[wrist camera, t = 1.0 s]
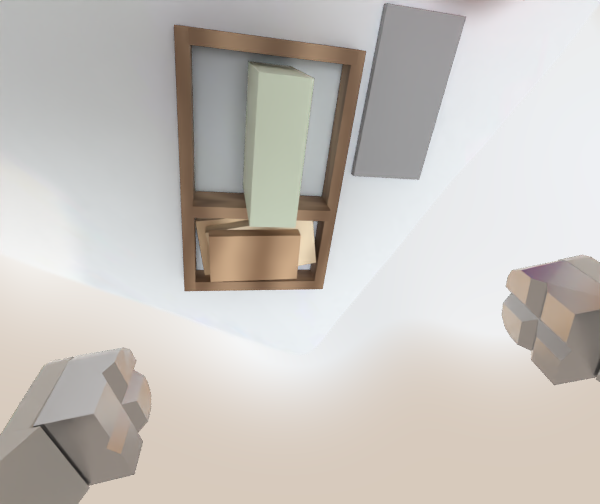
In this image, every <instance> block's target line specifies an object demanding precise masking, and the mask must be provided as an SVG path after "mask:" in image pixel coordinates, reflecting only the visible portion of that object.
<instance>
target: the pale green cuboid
mask: <svg viewBox="0 0 600 504" xmlns="http://www.w3.org/2000/svg"><path fill="white" fill-rule="evenodd" d="M313 86H314V78H312V77H311V76H309V75H307V74H305V73H303V72H301V71H299V70H297V69H295V68H293V67H291V66H284V65H276V64H268V63H259V62H251V61H248V81H247V103H246V124H245V146H244V168H243V190H244V196H245V202H246V208H247V214H248V220H249V226H250V227H283V228H295V227H296V220H297V212H298V204H299V196H300V188H301V180H302V172H303V164H304V157H305V149H306V141H307V133H308V125H309V117H310V109H311V101H312V94H313Z"/></svg>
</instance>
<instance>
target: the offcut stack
mask: <svg viewBox="0 0 600 504" xmlns="http://www.w3.org/2000/svg"><path fill="white" fill-rule="evenodd" d="M195 223H196V228H197V234H198V239H199V245H200V251H201V256H202V262H203V267H204V273H205V275H210V278H211V282H223V281H249V280H276V279H297V270H298V266H300V265H305V264H311V263H316V256H315V243H314V229H313V221H296V227H295V228H283V227H250V226H249V220H248V219H222V218H196V220H195Z"/></svg>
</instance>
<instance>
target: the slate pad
mask: <svg viewBox="0 0 600 504" xmlns="http://www.w3.org/2000/svg"><path fill="white" fill-rule="evenodd" d="M465 19H466V17H465V16H459V15H453V14H447V13H441V12H435V11H430V10H424V9H418V8H412V7H406V6H400V5H394V4H388V3H387V4H384V8H383V13H382V18H381V24H380V29H379V34H378V39H377V44H376V49H375V54H374V60H373V65H372V70H371V75H370V80H369V85H368V91H367V96H366V101H365V106H364V111H363V116H362V121H361V127H360V132H359V137H358V142H357V147H356V152H355V157H354V163H353V168H352V173H351V174H352V175H353V176H364V177H382V178H400V179H417V180H419V178H420V174H421V171H422V168H423V164H424V161H425V157H426V154H427V150H428V147H429V143H430V140H431V136H432V133H433V130H434V126H435V123H436V119H437V116H438V112H439V109H440V105H441V102H442V98H443V95H444V92H445V88H446V85H447V81H448V78H449V74H450V71H451V67H452V64H453V60H454V57H455V54H456V50H457V47H458V43H459V40H460V36H461V33H462V29H463V26H464V22H465Z"/></svg>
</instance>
